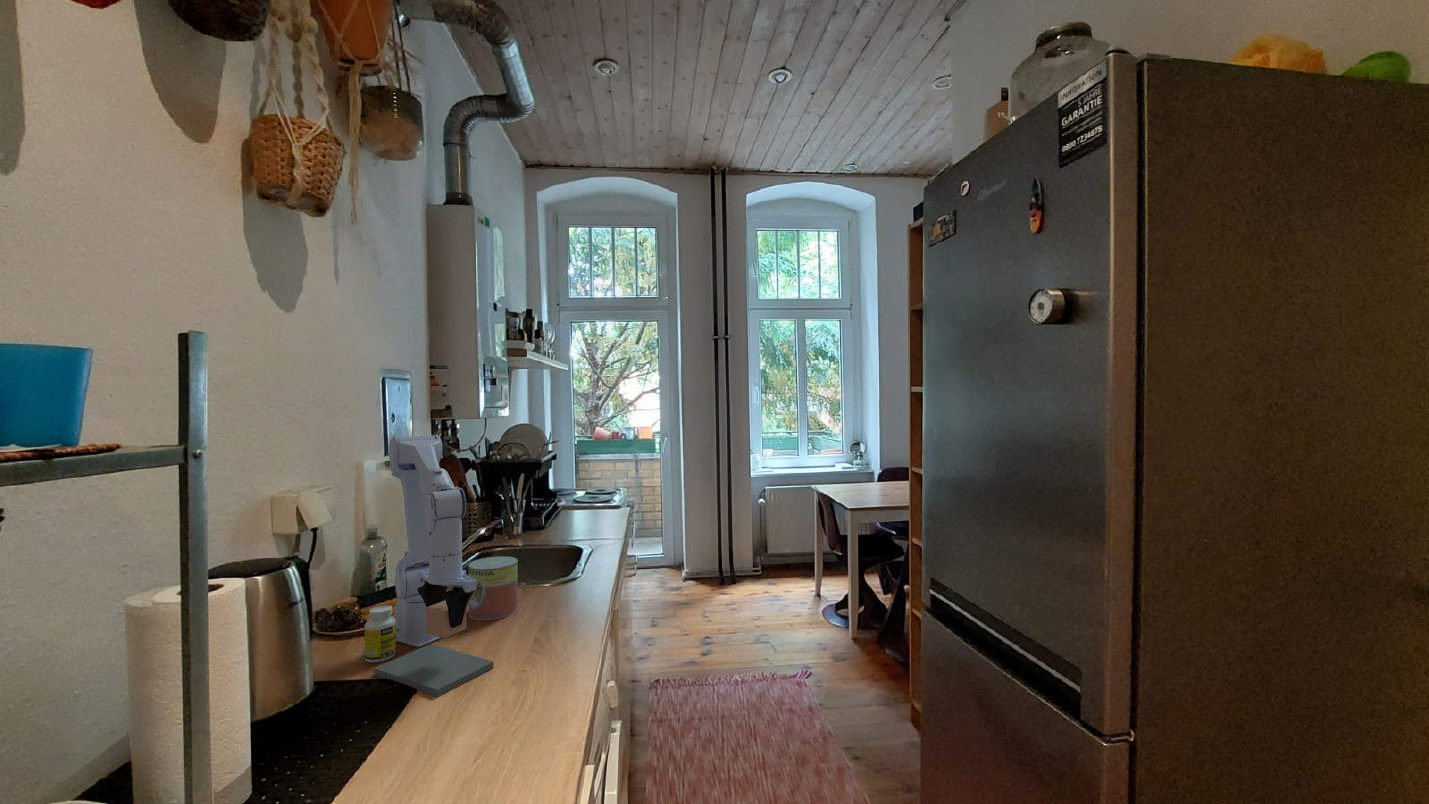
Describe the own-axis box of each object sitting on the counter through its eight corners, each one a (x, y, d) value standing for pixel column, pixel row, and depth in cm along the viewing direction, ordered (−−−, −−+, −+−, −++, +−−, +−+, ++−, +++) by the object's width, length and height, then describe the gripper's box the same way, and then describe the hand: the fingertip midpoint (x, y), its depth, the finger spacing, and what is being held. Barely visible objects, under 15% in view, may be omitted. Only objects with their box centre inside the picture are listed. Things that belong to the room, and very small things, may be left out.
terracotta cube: (426, 633, 108) (425, 607, 108) (448, 624, 113) (448, 599, 113) (443, 638, 106) (443, 611, 106) (466, 628, 110) (466, 603, 110)
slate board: (374, 674, 107) (374, 668, 107) (431, 649, 117) (431, 643, 117) (437, 696, 98) (437, 689, 98) (493, 667, 109) (493, 661, 109)
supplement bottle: (381, 664, 111) (381, 614, 111) (358, 662, 112) (357, 612, 112) (402, 652, 116) (401, 604, 116) (379, 650, 117) (379, 603, 117)
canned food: (458, 614, 137) (458, 564, 137) (498, 600, 147) (497, 554, 147) (488, 623, 131) (488, 571, 131) (527, 608, 141) (527, 560, 141)
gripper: (489, 552, 110) (489, 622, 110) (439, 544, 116) (439, 610, 116) (457, 561, 103) (458, 636, 103) (406, 552, 110) (407, 622, 110)
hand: (446, 623), depth 109 cm, fingers closed on terracotta cube, 5 cm apart
